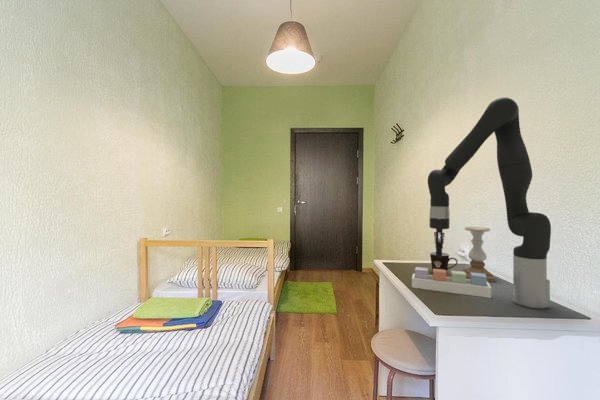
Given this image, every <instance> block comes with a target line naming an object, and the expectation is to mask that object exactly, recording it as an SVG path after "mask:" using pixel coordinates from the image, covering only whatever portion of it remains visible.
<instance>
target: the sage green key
mask: <svg viewBox="0 0 600 400" xmlns="http://www.w3.org/2000/svg"><path fill="white" fill-rule="evenodd" d="M450 271H451V272H450V273H451V275H450V278H451V282H452V283H461V284H466V273H465V272H461V271H462V270H460V271H459V270H450Z"/></svg>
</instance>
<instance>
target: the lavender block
mask: <svg viewBox="0 0 600 400" xmlns="http://www.w3.org/2000/svg"><path fill="white" fill-rule="evenodd" d="M414 274H415V278H418V279H426V280H428V275H429V268H428V267H419V266H416V267H415V269H414Z"/></svg>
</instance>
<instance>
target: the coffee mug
mask: <svg viewBox="0 0 600 400" xmlns="http://www.w3.org/2000/svg"><path fill="white" fill-rule="evenodd" d="M429 255H430V262H431V270H432V271H431V272H432V273H433V269H441V270H446V276H447V275H448V270H450V269H452V268H454V267H455V266H456V267H457V265H458V259H457V258H455V257H450V254H449V253H447V252H442V258H436V251H434V252H433V251H431V252H430V254H429ZM449 257H450V258H449ZM450 260H455V262H456V263H455V264H454V265H451V266H450V267H449V262H450Z"/></svg>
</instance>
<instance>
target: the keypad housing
mask: <svg viewBox="0 0 600 400" xmlns="http://www.w3.org/2000/svg"><path fill="white" fill-rule="evenodd" d="M411 276H412V277H411V288H412V287H413V288H414V289H419V288H420V289H421V290H426V291H427V290H428V291H435V292H442V293H443V292H444V293H450V294H457V295H467V296H472V297H473V296H474V297H479V298H488V299H491V298H492V287H491V284H490V282H487V287H486V286H478V285H471V280H468V279H466V284H461V283H452V282H451V277H450V276H446V282H443V281H435V280H433V275H431V274H428V280H426V279H418V278H415V273H412V275H411ZM413 288H412V289H413Z"/></svg>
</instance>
